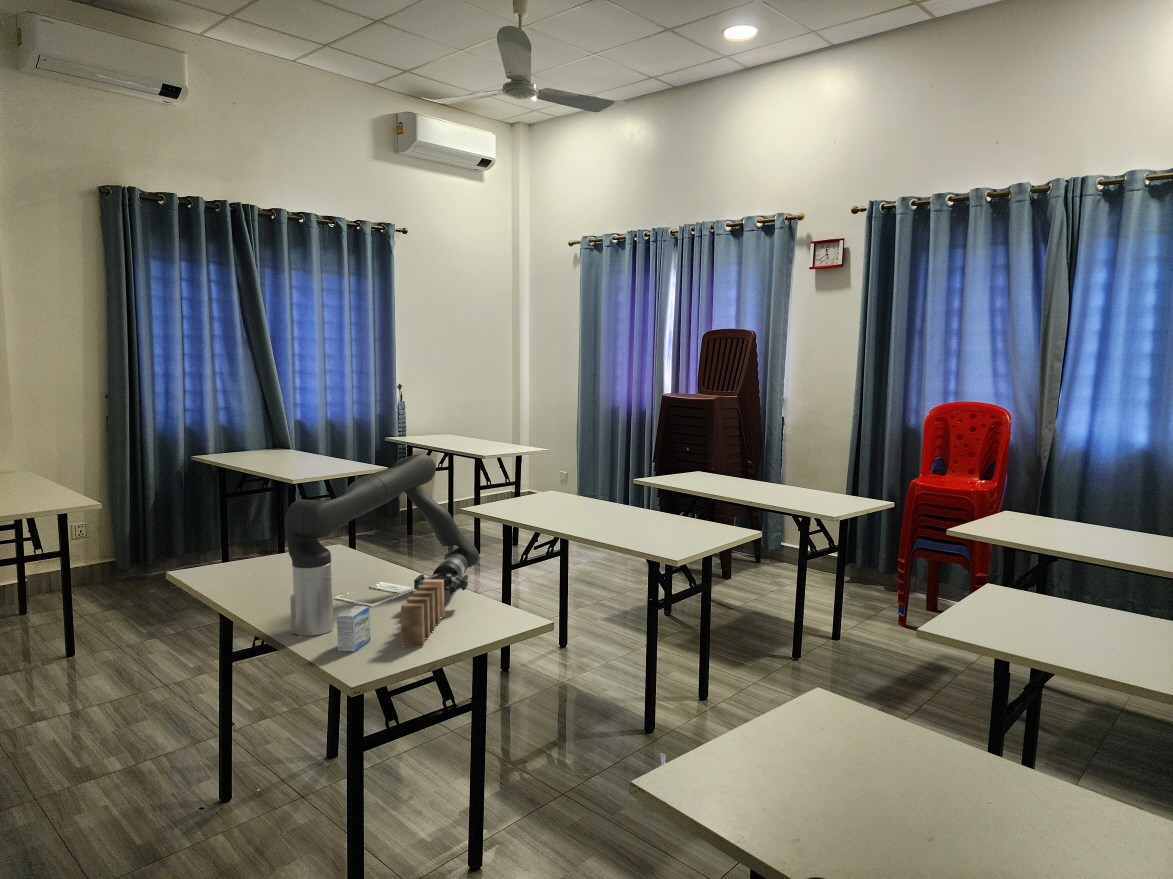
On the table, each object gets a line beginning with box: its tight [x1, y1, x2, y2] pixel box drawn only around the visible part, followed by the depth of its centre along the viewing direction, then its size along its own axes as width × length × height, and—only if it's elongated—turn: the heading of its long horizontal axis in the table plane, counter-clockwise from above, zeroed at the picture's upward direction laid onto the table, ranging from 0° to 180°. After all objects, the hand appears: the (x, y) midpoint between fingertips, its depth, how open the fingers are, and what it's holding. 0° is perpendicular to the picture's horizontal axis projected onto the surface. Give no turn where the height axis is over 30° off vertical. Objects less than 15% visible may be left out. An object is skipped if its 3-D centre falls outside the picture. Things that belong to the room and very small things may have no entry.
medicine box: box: [336, 605, 371, 653], centre depth 178 cm, size 8×4×9 cm, turn 168°
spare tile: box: [423, 579, 445, 617], centre depth 198 cm, size 5×2×10 cm, turn 87°
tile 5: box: [400, 602, 426, 647], centre depth 178 cm, size 5×2×10 cm, turn 87°
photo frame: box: [334, 581, 415, 607], centre depth 218 cm, size 15×1×18 cm
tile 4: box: [406, 596, 431, 639], centre depth 183 cm, size 5×2×10 cm, turn 87°
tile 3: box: [412, 590, 436, 632], centre depth 188 cm, size 5×2×10 cm, turn 87°
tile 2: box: [418, 585, 441, 625], centre depth 193 cm, size 5×2×10 cm, turn 87°
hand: (435, 590), depth 199 cm, fingers open, 8 cm apart
